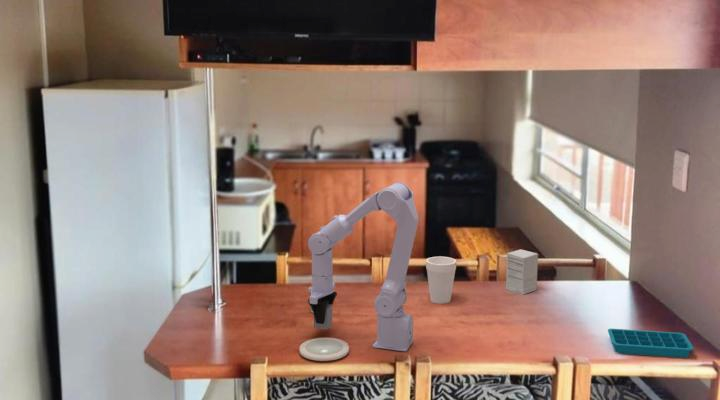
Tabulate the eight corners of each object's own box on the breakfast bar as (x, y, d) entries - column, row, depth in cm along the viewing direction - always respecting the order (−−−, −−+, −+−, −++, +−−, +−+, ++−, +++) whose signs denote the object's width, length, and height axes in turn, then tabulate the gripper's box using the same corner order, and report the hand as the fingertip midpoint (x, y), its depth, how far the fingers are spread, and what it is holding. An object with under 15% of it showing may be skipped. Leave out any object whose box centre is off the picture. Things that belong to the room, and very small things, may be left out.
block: (332, 324, 217) (332, 304, 216) (327, 329, 213) (327, 309, 212) (319, 322, 218) (318, 302, 217) (313, 327, 215) (313, 307, 213)
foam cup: (425, 295, 249) (425, 256, 246) (453, 295, 248) (454, 256, 245) (426, 305, 239) (427, 265, 237) (456, 305, 239) (457, 265, 236)
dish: (355, 346, 208) (355, 340, 207) (338, 365, 196) (338, 359, 195) (310, 340, 212) (310, 334, 211) (291, 359, 200) (291, 353, 199)
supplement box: (519, 285, 258) (520, 248, 256) (537, 290, 253) (538, 253, 250) (504, 289, 254) (506, 252, 251) (522, 295, 248) (524, 257, 246)
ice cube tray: (606, 338, 214) (607, 328, 213) (683, 343, 210) (684, 333, 210) (612, 355, 203) (613, 344, 202) (693, 360, 199) (694, 349, 198)
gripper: (318, 265, 221) (319, 310, 223) (298, 280, 207) (299, 327, 210) (341, 267, 218) (342, 312, 221) (323, 282, 205) (323, 330, 208)
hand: (323, 320), depth 215 cm, fingers closed on block, 4 cm apart
